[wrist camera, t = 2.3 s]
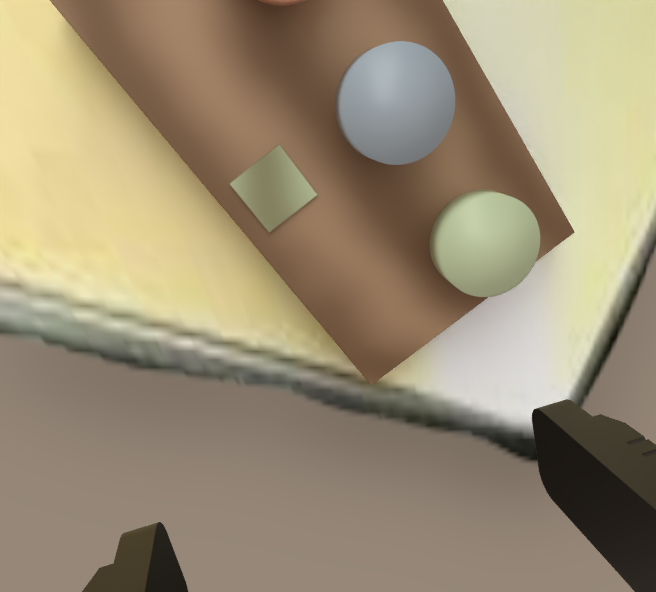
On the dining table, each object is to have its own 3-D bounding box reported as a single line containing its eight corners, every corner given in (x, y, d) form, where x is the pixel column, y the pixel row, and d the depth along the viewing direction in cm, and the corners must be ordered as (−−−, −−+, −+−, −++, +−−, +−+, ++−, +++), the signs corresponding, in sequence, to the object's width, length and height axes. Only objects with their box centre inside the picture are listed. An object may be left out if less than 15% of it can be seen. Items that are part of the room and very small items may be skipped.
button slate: (403, 19, 25) (415, 14, 23) (462, 116, 27) (475, 117, 25) (312, 92, 25) (318, 91, 24) (376, 183, 27) (385, 188, 25)
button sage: (493, 168, 28) (508, 172, 26) (540, 246, 29) (557, 254, 28) (410, 232, 28) (421, 239, 26) (462, 305, 30) (474, 316, 28)
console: (303, -192, 26) (313, -232, 23) (546, 221, 34) (577, 233, 31) (65, 8, 27) (45, -4, 24) (359, 362, 35) (372, 387, 32)
